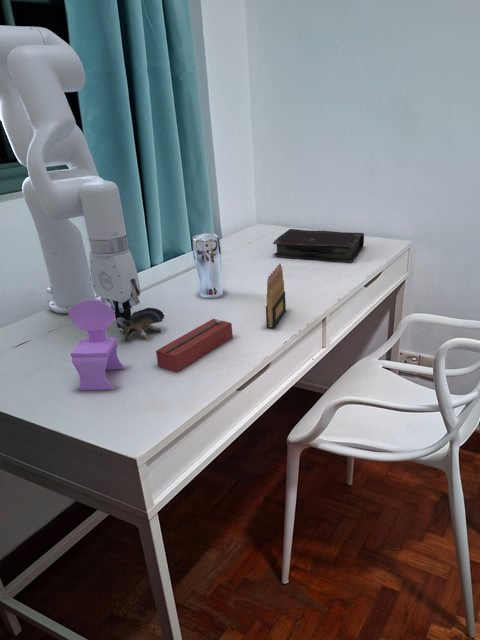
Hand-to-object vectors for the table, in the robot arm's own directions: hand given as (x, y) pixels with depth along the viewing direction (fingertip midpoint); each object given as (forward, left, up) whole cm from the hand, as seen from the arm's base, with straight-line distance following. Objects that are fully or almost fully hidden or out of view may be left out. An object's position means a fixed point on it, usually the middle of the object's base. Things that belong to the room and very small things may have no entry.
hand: (125, 326), depth 121 cm
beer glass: (+2, +28, -2) cm, 28 cm away
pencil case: (+20, 0, -1) cm, 21 cm away
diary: (+9, +74, -2) cm, 75 cm away
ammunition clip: (+26, +22, -2) cm, 34 cm away
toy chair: (+12, -18, -2) cm, 22 cm away
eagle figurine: (+5, 0, -2) cm, 5 cm away
